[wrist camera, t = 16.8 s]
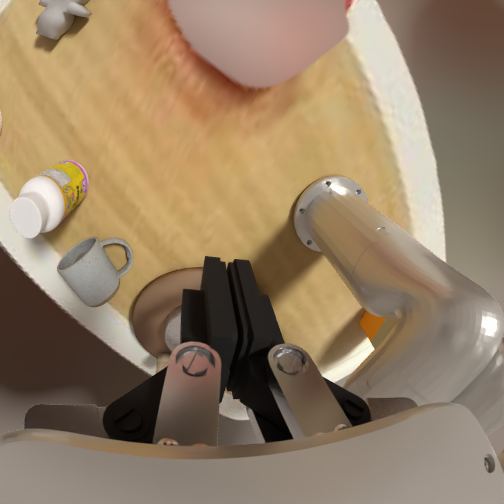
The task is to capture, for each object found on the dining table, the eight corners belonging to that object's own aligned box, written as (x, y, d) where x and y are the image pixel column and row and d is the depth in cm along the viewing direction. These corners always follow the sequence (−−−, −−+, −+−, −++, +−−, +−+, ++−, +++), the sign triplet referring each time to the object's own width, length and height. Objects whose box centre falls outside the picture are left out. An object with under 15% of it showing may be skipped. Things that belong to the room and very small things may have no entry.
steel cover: (250, 325, 47) (253, 338, 44) (201, 356, 49) (202, 370, 46) (200, 287, 41) (201, 301, 38) (151, 326, 43) (150, 340, 40)
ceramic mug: (94, 286, 40) (81, 318, 34) (67, 248, 36) (48, 276, 29) (144, 265, 40) (137, 296, 34) (118, 221, 36) (104, 247, 29)
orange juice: (400, 293, 54) (450, 356, 37) (382, 322, 58) (424, 386, 42) (376, 291, 52) (428, 362, 35) (358, 323, 56) (400, 393, 39)
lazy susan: (293, 318, 50) (302, 339, 45) (205, 376, 55) (207, 397, 50) (197, 237, 38) (198, 258, 33) (110, 324, 43) (104, 346, 39)
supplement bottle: (77, 212, 33) (38, 258, 23) (46, 187, 30) (-2, 226, 20) (98, 175, 32) (57, 211, 21) (65, 149, 29) (13, 176, 18)
